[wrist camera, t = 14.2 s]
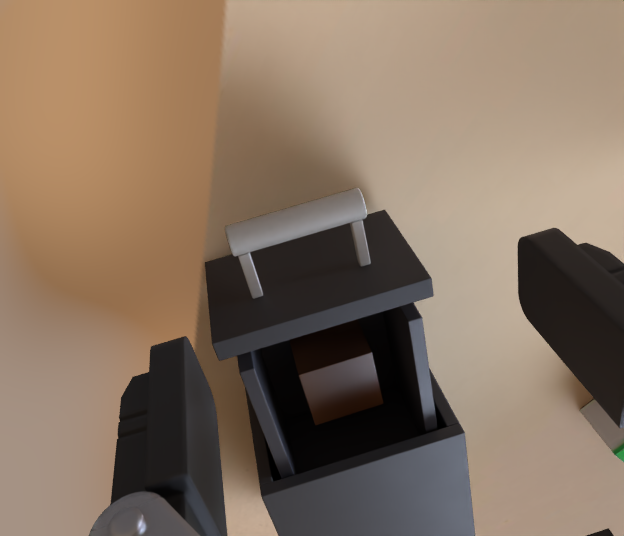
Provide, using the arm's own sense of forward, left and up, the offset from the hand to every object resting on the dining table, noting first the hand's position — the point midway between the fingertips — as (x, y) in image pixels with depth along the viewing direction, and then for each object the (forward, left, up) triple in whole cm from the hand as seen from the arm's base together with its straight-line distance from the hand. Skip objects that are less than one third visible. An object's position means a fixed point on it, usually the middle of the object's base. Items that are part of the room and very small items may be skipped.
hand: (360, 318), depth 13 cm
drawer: (0, -15, -21) cm, 26 cm away
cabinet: (0, -29, -22) cm, 36 cm away
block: (0, -18, -20) cm, 27 cm away
